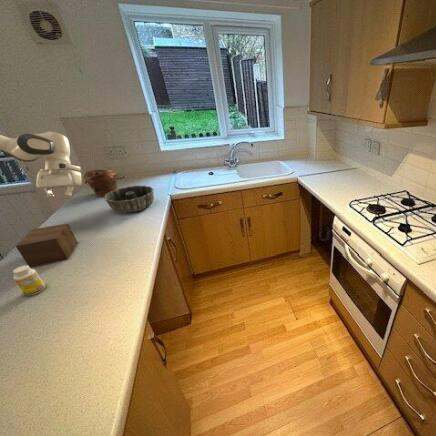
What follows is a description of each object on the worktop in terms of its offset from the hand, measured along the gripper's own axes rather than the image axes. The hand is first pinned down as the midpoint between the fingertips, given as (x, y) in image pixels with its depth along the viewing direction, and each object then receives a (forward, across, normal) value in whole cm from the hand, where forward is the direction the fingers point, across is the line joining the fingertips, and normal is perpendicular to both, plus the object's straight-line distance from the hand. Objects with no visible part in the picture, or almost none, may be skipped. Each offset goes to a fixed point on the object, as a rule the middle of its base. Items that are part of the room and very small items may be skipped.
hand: (59, 196), depth 113 cm
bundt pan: (+3, +6, +40) cm, 41 cm away
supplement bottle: (+38, +16, -23) cm, 48 cm away
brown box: (+27, +2, -4) cm, 27 cm away
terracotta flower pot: (-10, -30, +58) cm, 66 cm away
